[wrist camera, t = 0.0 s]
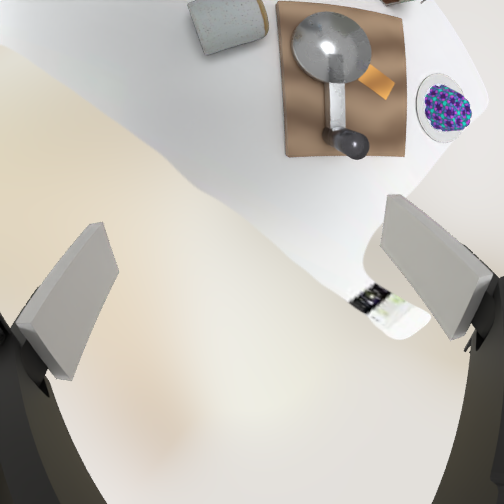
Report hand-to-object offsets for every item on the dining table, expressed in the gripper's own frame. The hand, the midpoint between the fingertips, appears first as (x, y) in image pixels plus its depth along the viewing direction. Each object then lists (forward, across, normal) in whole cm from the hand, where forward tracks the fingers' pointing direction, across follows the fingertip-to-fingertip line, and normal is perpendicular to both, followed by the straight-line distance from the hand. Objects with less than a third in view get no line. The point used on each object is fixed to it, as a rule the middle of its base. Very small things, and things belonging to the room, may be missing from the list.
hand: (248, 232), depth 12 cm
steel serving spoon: (+25, +13, +8) cm, 29 cm away
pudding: (+28, +34, +6) cm, 45 cm away
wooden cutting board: (+28, +16, +8) cm, 33 cm away
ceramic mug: (+28, 0, +17) cm, 33 cm away
